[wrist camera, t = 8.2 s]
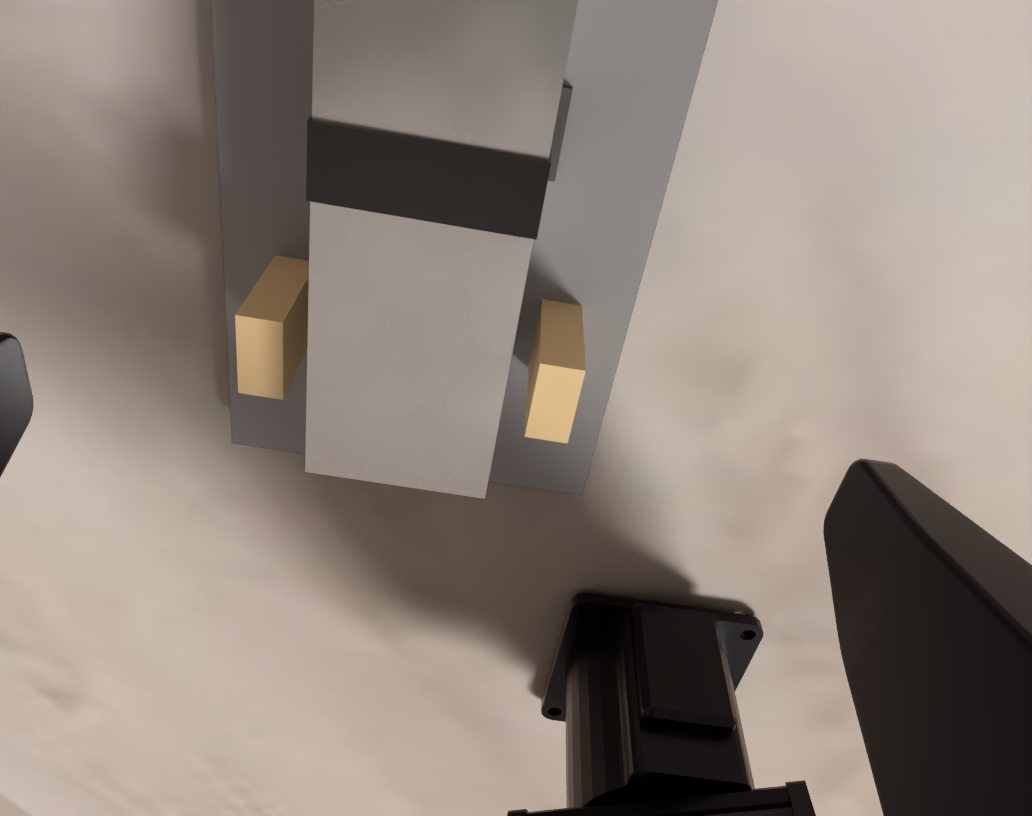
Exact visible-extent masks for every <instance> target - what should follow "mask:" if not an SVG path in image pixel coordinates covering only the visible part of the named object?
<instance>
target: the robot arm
mask: <svg viewBox="0 0 1032 816" xmlns="http://www.w3.org/2000/svg"><path fill="white" fill-rule="evenodd" d="M32 411H33V396H32V392H31V387H30V383H29V378H28V374H27V369H26V365H25V361H24V356H23V352H22V348H21V345H20V343H19V341H18V340H17V338H16V337H14V336H13V335H11V334H10V333H5V332H0V477H1V475H2V473H3V471H4V469H5V467H6V466H7V464H8V462H9V460H10V458H11V456H12V454H13V452H14V450H15V448H16V447H17V445H18V443H19V441H20V439H21V437H22V435H23V433H24V431H25V430H26V428H27V426H28V424H29V421H30V419H31V416H32ZM824 541H825V547H826V554H827V561H828V568H829V575H830V582H831V589H832V596H833V603H834V610H835V617H836V624H837V631H838V637H839V643H840V649H841V654H842V659H843V663H844V667H845V671H846V675H847V679H848V683H849V687H850V690H851V694H852V698H853V702H854V705H855V709H856V713H857V717H858V721H859V724H860V728H861V732H862V736H863V739H864V743H865V747H866V751H867V754H868V758H869V762H870V766H871V770H872V773H873V777H874V781H875V785H876V788H877V792H878V796H879V800H880V803H881V807H882V811H883V815H884V816H1032V565H1031V564H1029V563H1028V562H1027V561H1025V560H1024V559H1023V558H1021V557H1020V556H1019V555H1017V554H1016V553H1015V552H1013V551H1012V550H1011V549H1009V548H1008V547H1007V546H1005V545H1004V544H1003V543H1001V542H1000V541H999V540H997V539H996V538H994V537H993V536H992V535H990V534H989V533H988V532H986V531H985V530H984V529H982V528H981V527H980V526H978V525H977V524H976V523H974V522H973V521H972V520H970V519H969V518H968V517H966V516H965V515H964V514H962V513H961V512H960V511H958V510H957V509H956V508H954V507H953V506H952V505H950V504H949V503H947V502H946V501H945V500H943V499H942V498H941V497H939V496H938V495H937V494H935V493H934V492H933V491H931V490H930V489H929V488H927V487H926V486H925V485H923V484H922V483H921V482H919V481H918V480H917V479H915V478H914V477H913V476H911V475H910V474H909V473H907V472H906V471H904V470H903V469H902V468H900V467H899V466H898V465H896V464H893V463H889V462H882V461H875V460H868V459H859V460H857V461H855V462H853V463H852V465H851V466H850V467H849V469H848V470H847V472H846V474H845V476H844V478H843V480H842V482H841V484H840V487H839V489H838V491H837V493H836V495H835V497H834V499H833V501H832V503H831V505H830V507H829V509H828V511H827V513H826V517H825V520H824ZM583 607H589V608H583ZM745 630H747V631H745ZM762 637H763V630H762V626H761V623H760V620H759V619H757V618H756V617H753V616H749V615H742V614H735V613H728V612H721V611H714V610H707V609H700V608H693V607H686V606H679V605H672V604H665V603H658V602H651V601H644V600H637V599H630V598H623V597H616V596H609V595H602V594H595V593H580V594H577V595H575V596H574V597H573V598H572V600H571V602H570V606H569V609H568V612H567V616H566V619H565V623H564V626H563V629H562V633H561V636H560V640H559V643H558V646H557V650H556V653H555V657H554V660H553V663H552V667H551V670H550V674H549V677H548V680H547V684H546V687H545V691H544V694H543V697H542V706H541V712H542V715H543V716H544V717H546V718H547V719H551V720H557V721H565V722H566V783H567V808H564V809H554V810H544V811H534V812H528V811H527V809H522V810H512V811H508V815H507V816H816V815H815V812H814V809H813V805H812V802H811V799H810V796H809V792H808V789H807V786H806V783H805V780H804V781H794V782H786V786H779V787H769V788H759V789H755V787H754V782H753V777H752V773H751V768H750V763H749V758H748V754H747V749H746V744H745V739H744V734H743V730H742V725H741V720H740V715H739V711H738V706H737V701H736V696H735V690H736V688H737V686H738V684H739V682H740V680H741V678H742V676H743V675H744V673H745V671H746V669H747V667H748V665H749V663H750V661H751V659H752V657H753V655H754V653H755V651H756V649H757V647H758V645H759V643H760V641H761V639H762Z"/></svg>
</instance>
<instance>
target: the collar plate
mask: <svg viewBox="0 0 1032 816" xmlns="http://www.w3.org/2000/svg"><path fill="white" fill-rule="evenodd" d="M717 3H718V0H578V5H577V11H576V16H575V21H574V27H573V32H572V37H571V43H570V48H569V53H568V59H567V64H566V69H565V75H564V80H563V85H562V91H561V96H560V101H559V107H558V112H557V117H556V123H555V128H554V133H553V139H552V144H551V167H550V172H549V178H548V183H547V188H546V193H545V199H544V204H543V209H542V214H541V220H540V225H539V230H538V236H537V240H533V245H532V251H531V256H530V261H529V267H528V272H527V277H526V283H525V288H524V293H523V299H522V304H521V309H520V315H519V320H518V325H517V331H516V336H515V341H514V347H513V352H512V357H511V363H510V368H509V373H508V379H507V384H506V389H505V395H504V400H503V405H502V411H501V416H500V421H499V427H498V432H497V437H496V443H495V448H494V453H493V459H492V464H491V469H490V475H489V480H488V482H495V483H501V484H508V485H515V486H521V487H528V488H535V489H541V490H548V491H555V492H561V493H568V494H575V495H581V496H582V493H583V490H584V486H585V482H586V479H587V475H588V471H589V468H590V464H591V460H592V457H593V453H594V450H595V446H596V442H597V439H598V435H599V431H600V428H601V424H602V421H603V417H604V413H605V410H606V406H607V402H608V399H609V395H610V391H611V388H612V384H613V381H614V377H615V373H616V370H617V366H618V362H619V359H620V355H621V352H622V348H623V344H624V341H625V337H626V333H627V330H628V326H629V322H630V319H631V315H632V312H633V308H634V304H635V301H636V297H637V293H638V290H639V286H640V283H641V279H642V275H643V272H644V268H645V264H646V261H647V257H648V253H649V250H650V246H651V243H652V239H653V235H654V232H655V228H656V224H657V221H658V217H659V214H660V210H661V206H662V203H663V199H664V195H665V192H666V188H667V184H668V181H669V177H670V174H671V170H672V166H673V163H674V159H675V155H676V152H677V148H678V145H679V141H680V137H681V134H682V130H683V126H684V123H685V119H686V115H687V112H688V108H689V105H690V101H691V97H692V94H693V90H694V86H695V83H696V79H697V76H698V72H699V68H700V65H701V61H702V57H703V54H704V50H705V46H706V43H707V39H708V36H709V32H710V28H711V25H712V21H713V17H714V14H715V10H716V7H717ZM211 13H212V34H213V55H214V76H215V97H216V118H217V139H218V160H219V181H220V202H221V223H222V244H223V265H224V286H225V307H226V328H227V349H228V370H229V391H230V412H231V433H232V443H234V444H241V445H248V446H254V447H261V448H268V449H275V450H281V451H288V452H295V453H301V454H305V449H306V397H307V345H308V292H309V240H310V201H306V172H307V120H308V119H309V118H310V117H311V116H312V84H313V32H314V0H211Z"/></svg>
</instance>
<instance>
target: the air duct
mask: <svg viewBox="0 0 1032 816" xmlns="http://www.w3.org/2000/svg"><path fill="white" fill-rule="evenodd" d="M577 5H578V0H314V32H313V84H312V116H311V117H310V118H309V119H308V120H307V172H306V201H310V240H309V292H308V345H307V397H306V449H305V472H309V473H315V474H322V475H329V476H335V477H342V478H349V479H355V480H362V481H369V482H376V483H382V484H389V485H396V486H402V487H409V488H416V489H422V490H429V491H436V492H442V493H449V494H456V495H463V496H469V497H476V498H483V499H485V496H486V491H487V485H488V480H489V475H490V469H491V464H492V459H493V453H494V448H495V443H496V437H497V432H498V427H499V421H500V416H501V411H502V405H503V400H504V395H505V389H506V384H507V379H508V373H509V368H510V363H511V357H512V352H513V347H514V341H515V336H516V331H517V325H518V320H519V315H520V309H521V304H522V299H523V293H524V288H525V283H526V277H527V272H528V267H529V261H530V256H531V251H532V245H533V240H537V236H538V230H539V225H540V220H541V214H542V209H543V204H544V199H545V193H546V188H547V183H548V178H549V172H550V167H551V144H552V139H553V133H554V128H555V123H556V117H557V112H558V107H559V101H560V96H561V91H562V85H563V80H564V75H565V69H566V64H567V59H568V53H569V48H570V43H571V37H572V32H573V27H574V21H575V16H576V11H577Z"/></svg>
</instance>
